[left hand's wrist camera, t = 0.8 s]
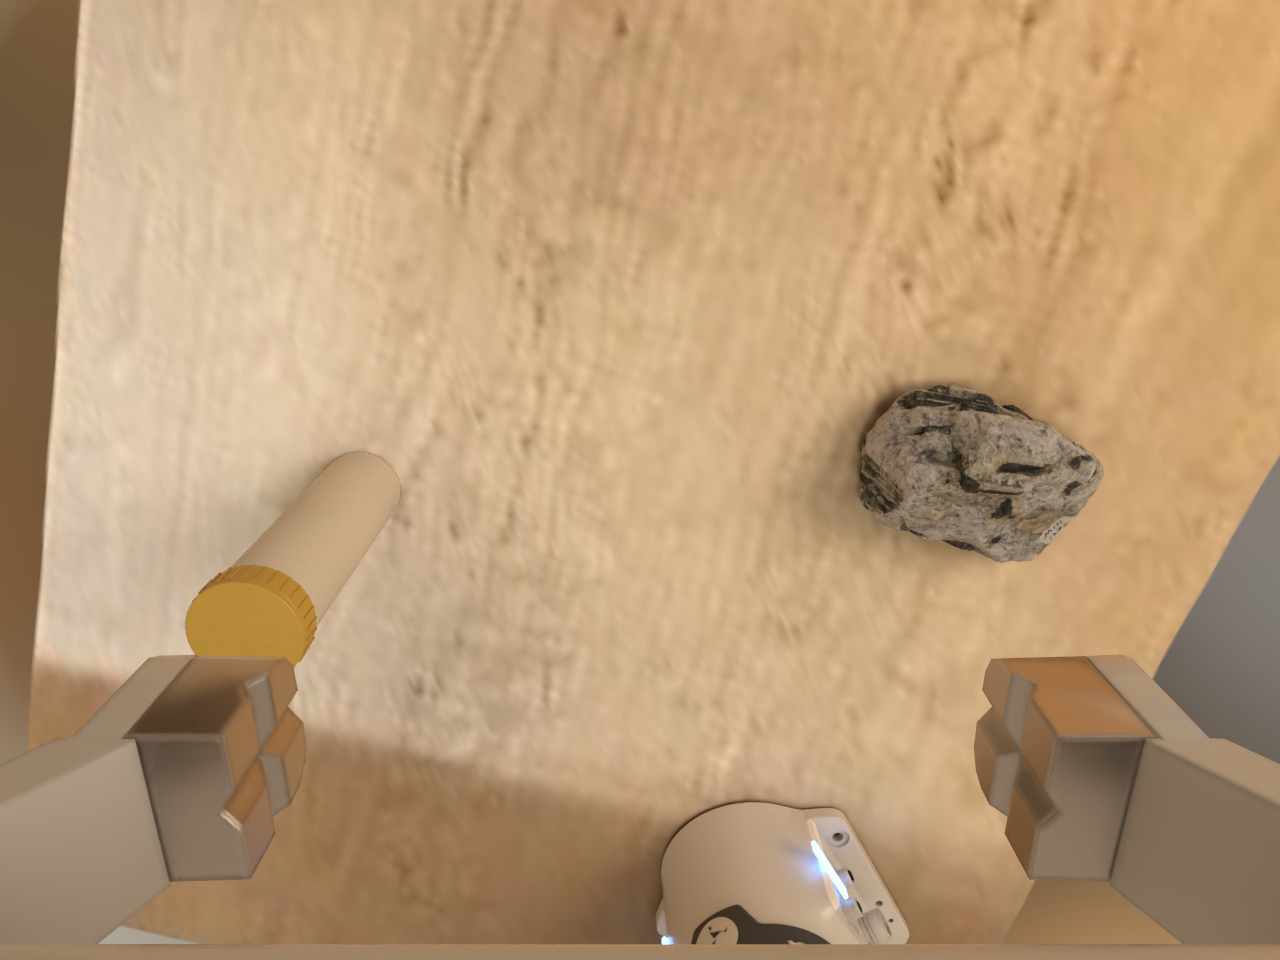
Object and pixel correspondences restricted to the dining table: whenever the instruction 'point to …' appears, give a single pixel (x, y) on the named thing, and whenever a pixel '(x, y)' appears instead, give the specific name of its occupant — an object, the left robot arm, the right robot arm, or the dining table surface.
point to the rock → (974, 473)
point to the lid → (251, 615)
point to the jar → (329, 527)
